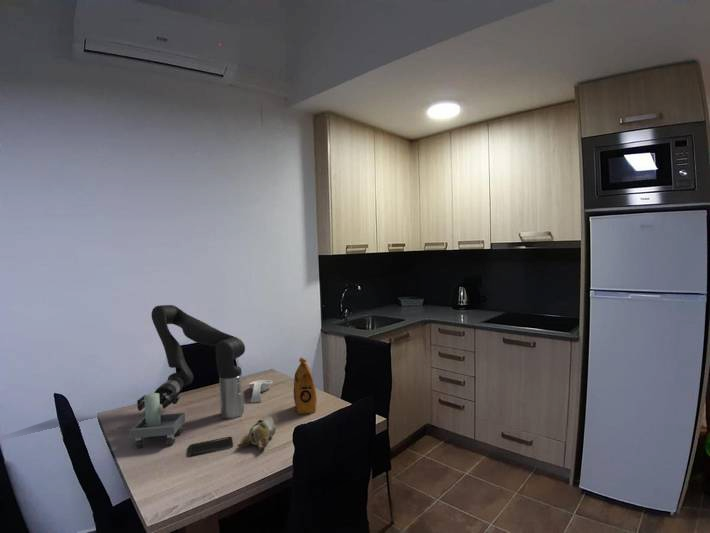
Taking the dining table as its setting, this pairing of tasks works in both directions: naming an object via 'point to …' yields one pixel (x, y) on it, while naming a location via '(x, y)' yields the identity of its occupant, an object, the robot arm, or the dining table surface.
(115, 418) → the dining table surface
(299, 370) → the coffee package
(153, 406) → the pale green cylinder
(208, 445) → the phone
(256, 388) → the white t-shaped piece
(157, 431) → the tray
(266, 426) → the ceramic sculpture
